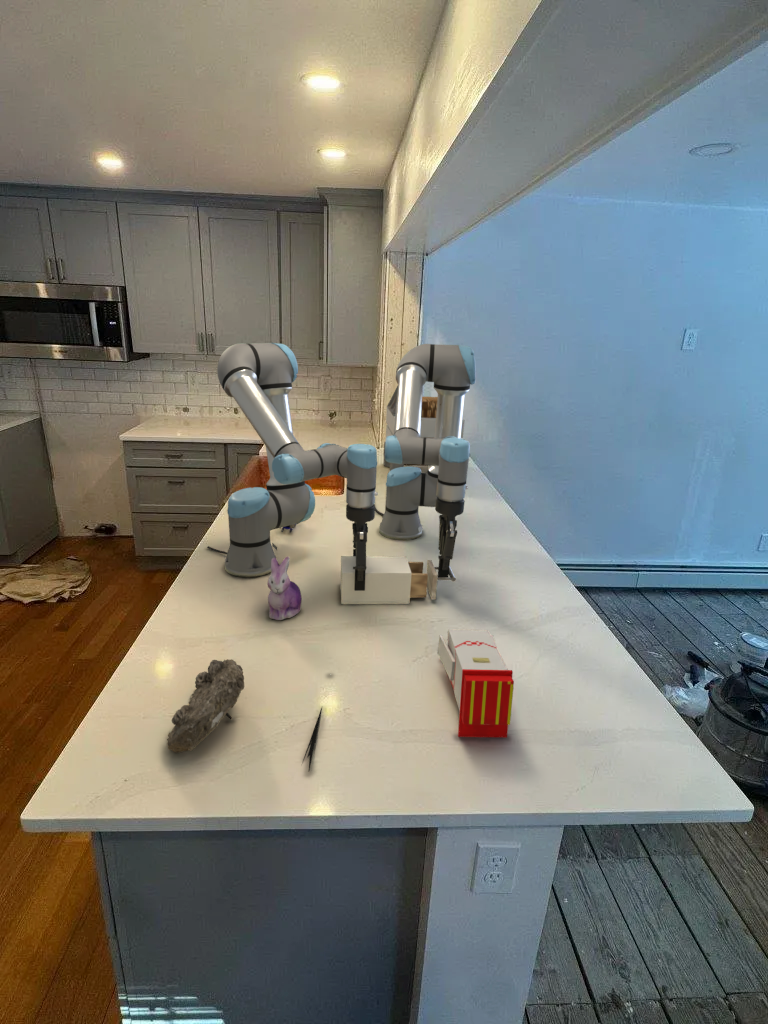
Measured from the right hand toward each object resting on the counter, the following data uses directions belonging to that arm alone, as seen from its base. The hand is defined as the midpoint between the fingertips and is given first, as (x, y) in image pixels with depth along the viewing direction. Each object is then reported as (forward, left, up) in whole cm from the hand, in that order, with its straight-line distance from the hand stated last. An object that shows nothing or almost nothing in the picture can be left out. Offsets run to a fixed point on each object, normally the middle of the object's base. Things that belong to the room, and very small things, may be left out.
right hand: (442, 578), depth 157 cm
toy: (+34, -26, -5) cm, 43 cm away
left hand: (-14, -19, -1) cm, 23 cm away
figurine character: (-67, -8, -5) cm, 68 cm away
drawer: (-5, -7, -4) cm, 9 cm away
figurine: (-17, -40, -5) cm, 44 cm away
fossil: (+9, -72, -5) cm, 72 cm away
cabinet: (-11, -15, -5) cm, 20 cm away
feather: (+22, -56, -5) cm, 60 cm away
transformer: (-93, +81, -5) cm, 124 cm away
